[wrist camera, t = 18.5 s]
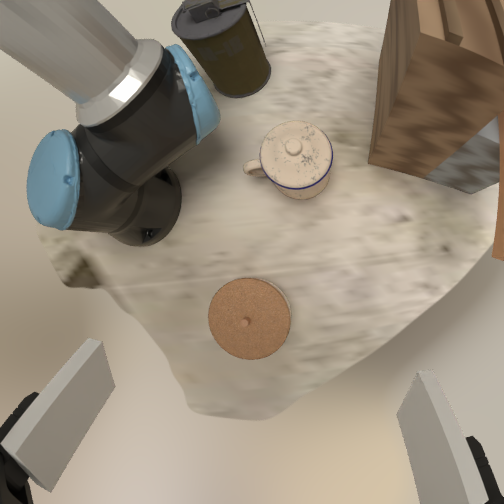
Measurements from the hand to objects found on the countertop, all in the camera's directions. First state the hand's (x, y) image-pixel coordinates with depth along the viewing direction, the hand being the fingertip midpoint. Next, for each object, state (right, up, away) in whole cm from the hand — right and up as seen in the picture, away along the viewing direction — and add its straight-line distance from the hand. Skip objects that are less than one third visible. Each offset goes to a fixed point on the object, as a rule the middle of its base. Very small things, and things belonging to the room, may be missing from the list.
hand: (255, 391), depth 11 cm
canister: (-2, +37, +35) cm, 51 cm away
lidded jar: (+1, -3, +34) cm, 35 cm away
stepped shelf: (+28, +26, +28) cm, 47 cm away
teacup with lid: (+6, +17, +33) cm, 38 cm away
